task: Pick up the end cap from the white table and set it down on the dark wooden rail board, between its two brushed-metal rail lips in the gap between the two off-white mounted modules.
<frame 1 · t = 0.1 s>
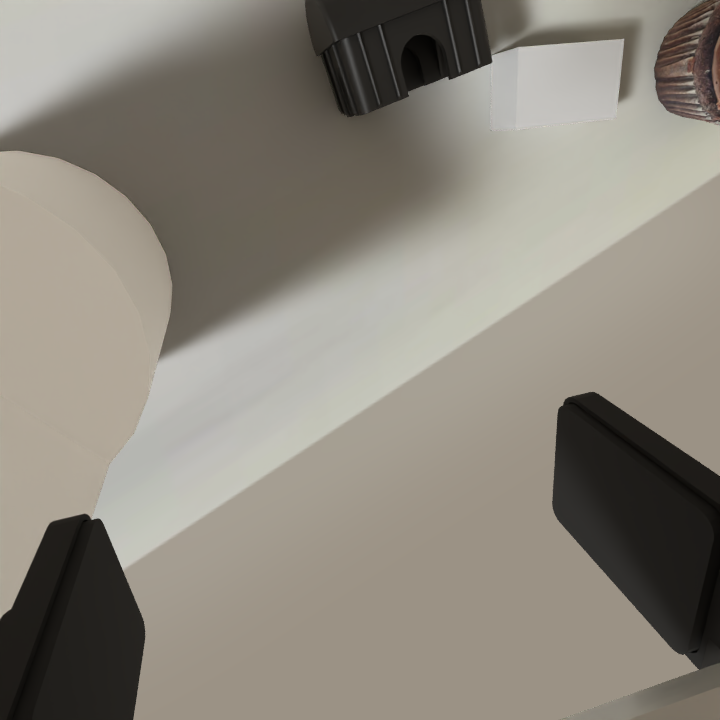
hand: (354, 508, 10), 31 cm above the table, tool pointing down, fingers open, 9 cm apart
cylinder: (41, 283, 36), on the table
end cap: (382, 40, 35), on the table
cupcake: (694, 63, 41), on the table
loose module: (537, 89, 39), on the table
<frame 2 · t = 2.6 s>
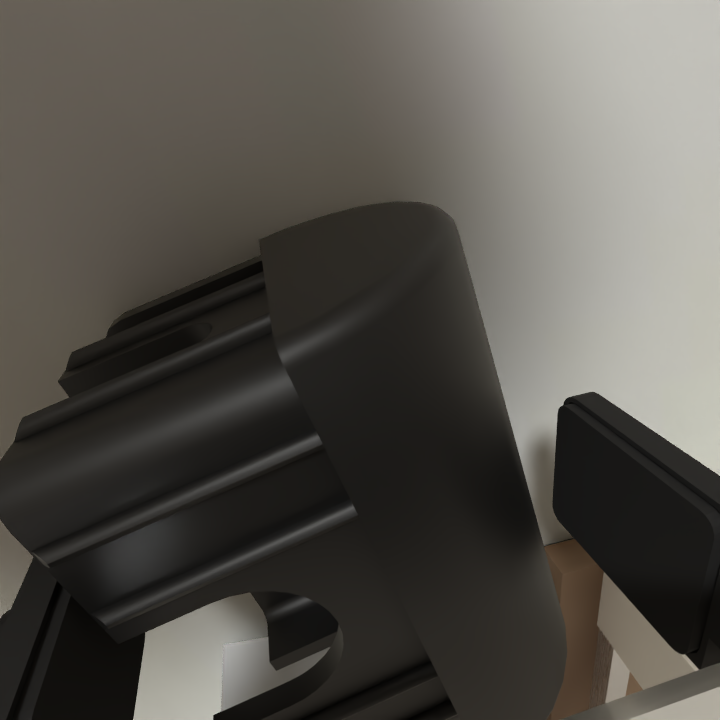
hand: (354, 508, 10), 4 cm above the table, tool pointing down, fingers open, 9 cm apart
rail: (679, 675, 23), resting on rail board
rail board: (679, 675, 23), on the table
end cap: (320, 410, 14), on the table
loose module: (304, 702, 19), on the table
mounted modules: (679, 675, 23), resting on rail board
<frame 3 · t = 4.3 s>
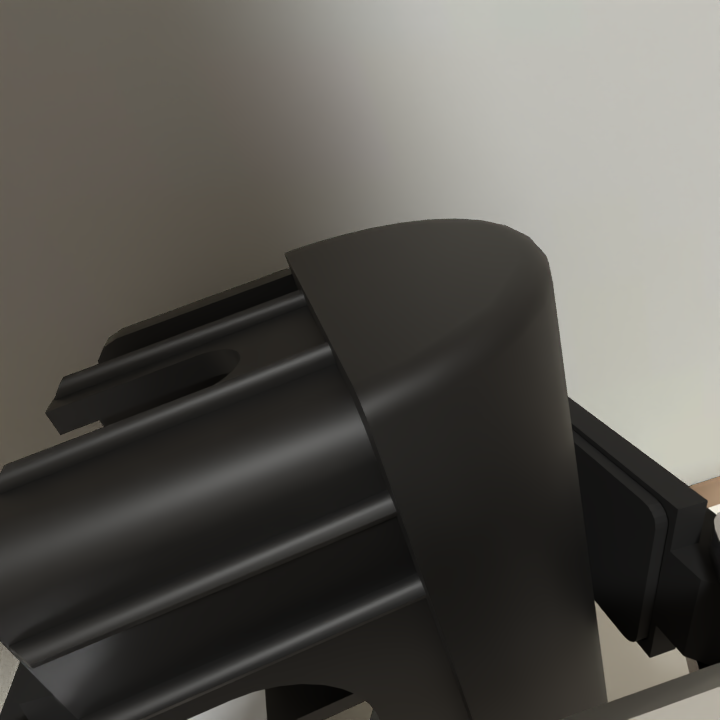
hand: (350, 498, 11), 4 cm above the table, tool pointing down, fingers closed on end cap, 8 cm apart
rail board: (603, 677, 24), on the table
end cap: (333, 443, 13), point 2 cm above the table, touching gripper
mounted modules: (603, 677, 24), resting on rail board
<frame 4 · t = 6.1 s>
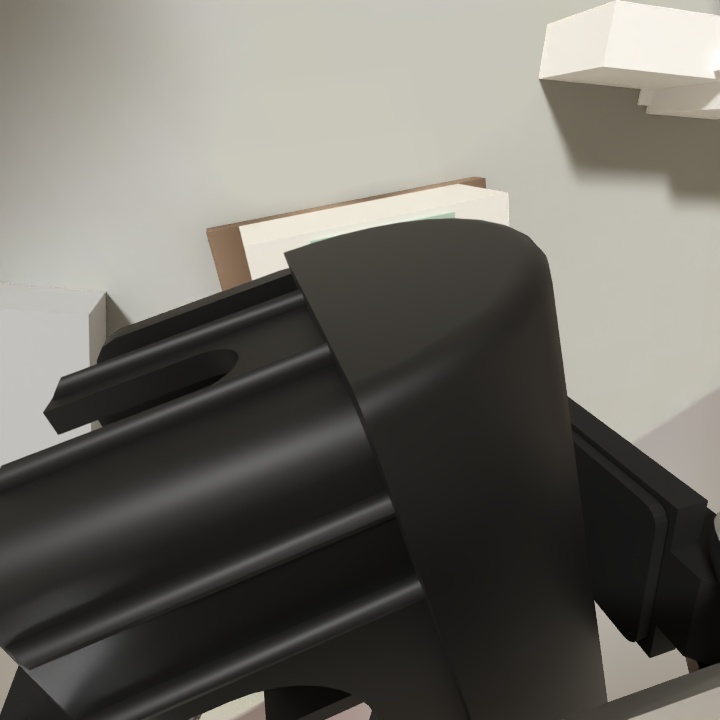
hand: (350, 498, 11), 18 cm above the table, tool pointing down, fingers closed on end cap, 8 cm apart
white stepped block: (629, 88, 28), on the table
rail board: (373, 376, 30), on the table
end cap: (332, 443, 13), point 16 cm above the table, touching gripper
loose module: (52, 363, 26), on the table
mounted modules: (373, 376, 30), resting on rail board
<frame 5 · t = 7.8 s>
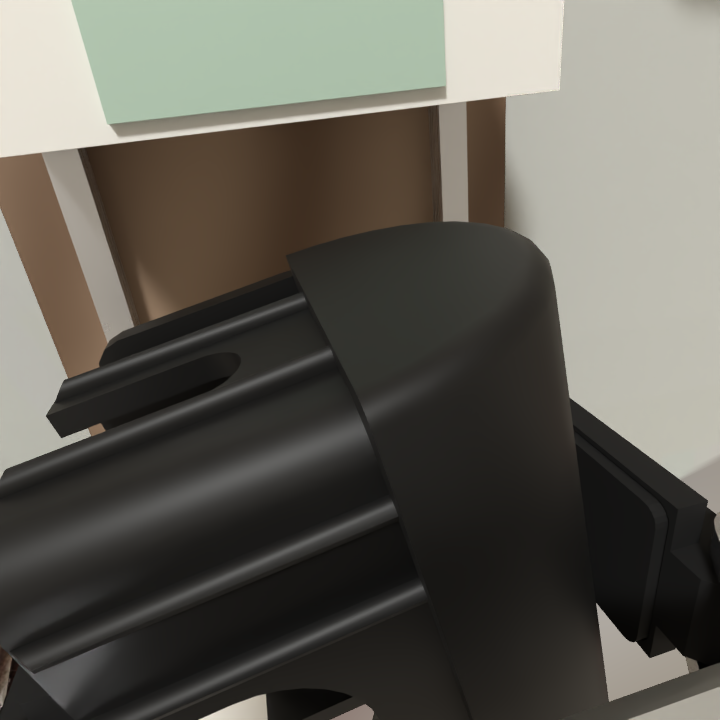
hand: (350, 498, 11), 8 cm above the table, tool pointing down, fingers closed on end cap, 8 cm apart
rail: (301, 346, 18), resting on rail board
rail board: (301, 346, 18), on the table
end cap: (334, 445, 13), point 6 cm above the table, touching gripper
mounted modules: (301, 346, 18), resting on rail board
when the fingers open (4 cm above the table, at t = 9.3 s): end cap stays where it is, resting on rail board.
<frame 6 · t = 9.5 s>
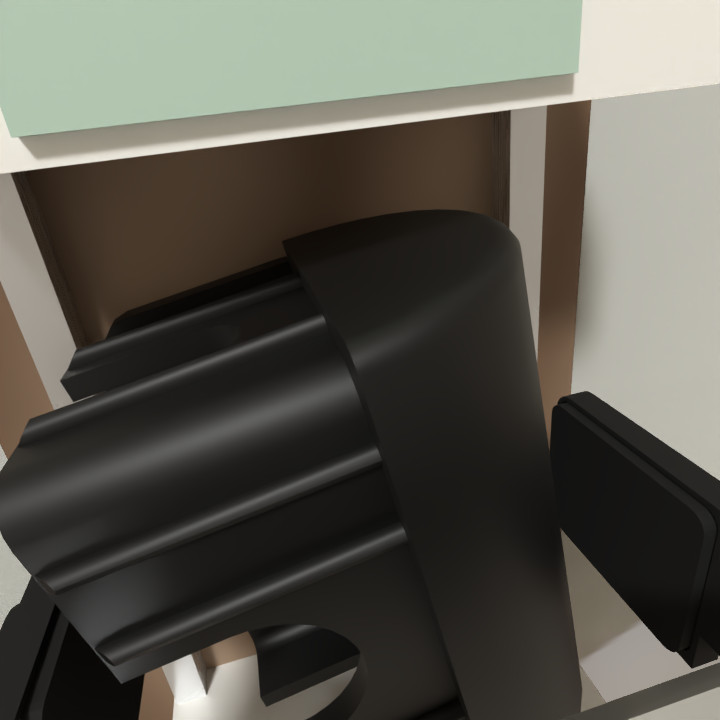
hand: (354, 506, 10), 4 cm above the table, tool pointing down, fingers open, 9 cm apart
rail: (318, 411, 14), resting on rail board
rail board: (318, 411, 14), on the table
end cap: (325, 425, 13), point 1 cm above the table, touching rail board
mounted modules: (318, 411, 14), resting on rail board
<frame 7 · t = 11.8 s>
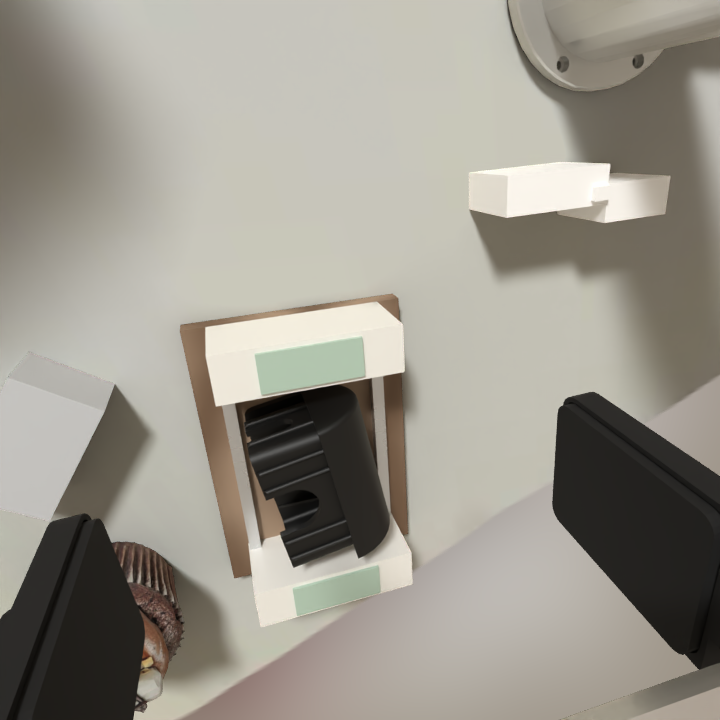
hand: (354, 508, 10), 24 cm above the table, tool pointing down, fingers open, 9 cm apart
rail: (307, 439, 38), resting on rail board
white stepped block: (542, 197, 37), on the table
rail board: (307, 439, 38), on the table
end cap: (310, 444, 37), point 1 cm above the table, touching rail board
cupcake: (117, 582, 38), on the table
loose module: (48, 420, 32), on the table
mounted modules: (307, 439, 38), resting on rail board
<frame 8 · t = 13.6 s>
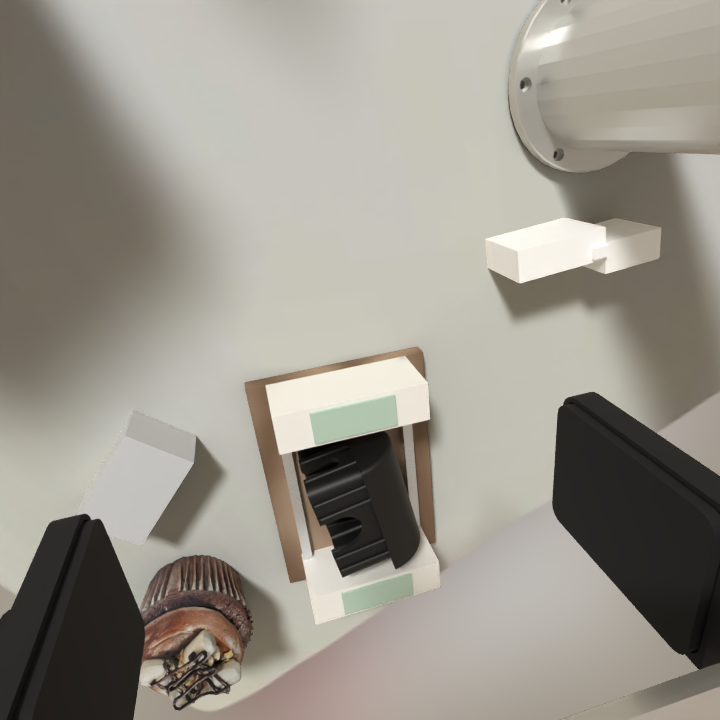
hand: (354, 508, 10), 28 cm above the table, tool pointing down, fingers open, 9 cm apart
rail: (348, 467, 45), resting on rail board
white stepped block: (551, 246, 42), on the table
rail board: (348, 467, 45), on the table
end cap: (351, 472, 44), point 1 cm above the table, touching rail board
cupcake: (195, 587, 46), on the table
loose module: (141, 462, 40), on the table
mounted modules: (348, 467, 45), resting on rail board
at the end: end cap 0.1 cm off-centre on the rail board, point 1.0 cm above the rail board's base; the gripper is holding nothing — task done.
